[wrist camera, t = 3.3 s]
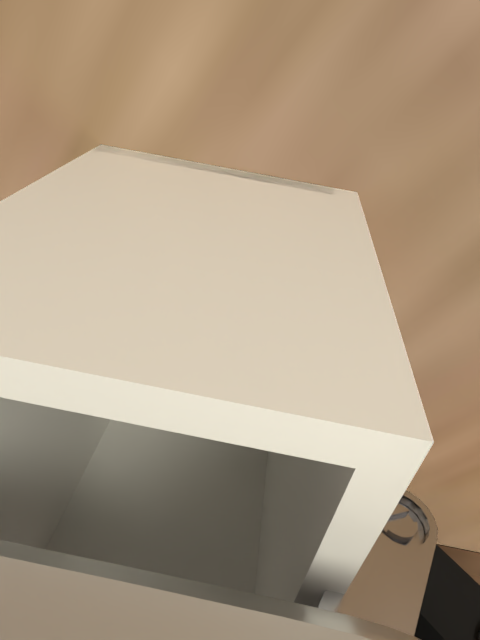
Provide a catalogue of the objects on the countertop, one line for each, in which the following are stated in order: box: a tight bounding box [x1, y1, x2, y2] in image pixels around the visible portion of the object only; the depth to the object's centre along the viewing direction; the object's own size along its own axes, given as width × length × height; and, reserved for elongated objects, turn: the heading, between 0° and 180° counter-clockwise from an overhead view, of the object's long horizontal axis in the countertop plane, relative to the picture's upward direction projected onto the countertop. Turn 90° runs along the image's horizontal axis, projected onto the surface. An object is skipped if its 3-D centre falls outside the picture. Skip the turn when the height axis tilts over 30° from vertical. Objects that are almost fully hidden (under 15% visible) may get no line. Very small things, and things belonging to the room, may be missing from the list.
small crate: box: [0, 144, 434, 607], centre depth 10 cm, size 6×9×8 cm
